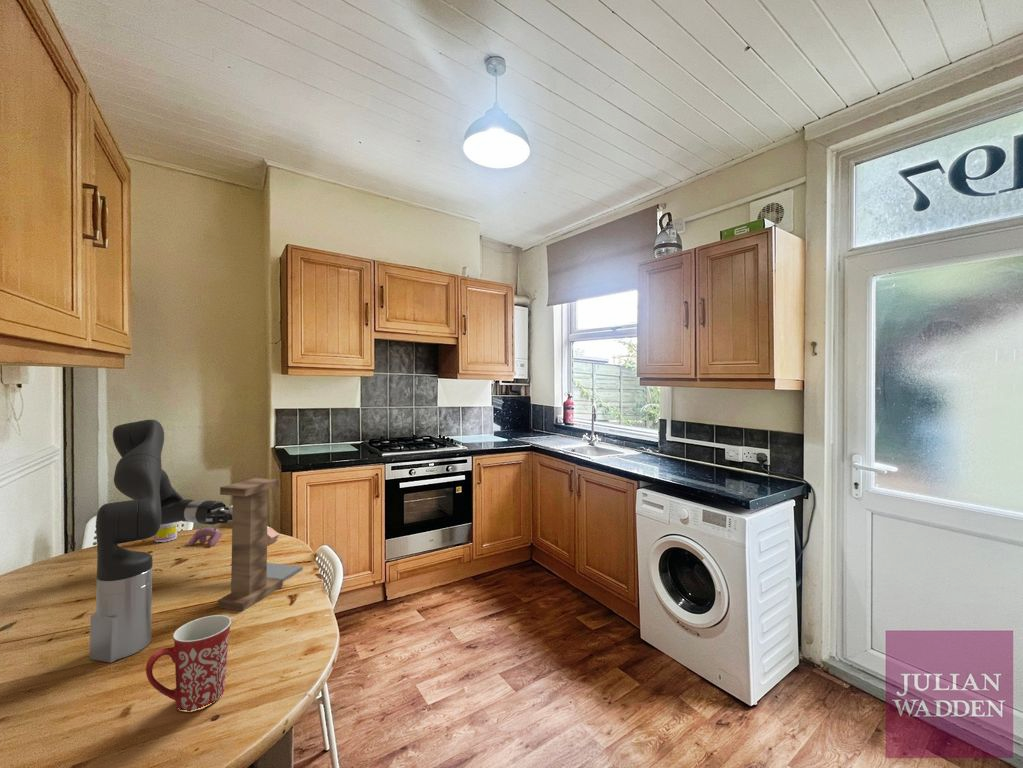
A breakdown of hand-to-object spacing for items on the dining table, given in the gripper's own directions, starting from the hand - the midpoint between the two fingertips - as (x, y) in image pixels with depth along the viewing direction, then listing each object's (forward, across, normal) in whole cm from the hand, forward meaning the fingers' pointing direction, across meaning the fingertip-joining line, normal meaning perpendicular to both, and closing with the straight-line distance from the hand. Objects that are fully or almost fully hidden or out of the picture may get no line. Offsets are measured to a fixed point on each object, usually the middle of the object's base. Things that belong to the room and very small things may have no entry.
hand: (249, 516), depth 133 cm
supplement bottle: (-52, +15, +18) cm, 58 cm away
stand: (+14, -14, +17) cm, 26 cm away
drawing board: (+9, 0, +18) cm, 20 cm away
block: (+1, 0, +4) cm, 4 cm away
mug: (+36, -50, +17) cm, 63 cm away
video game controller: (-34, +15, +18) cm, 41 cm away
